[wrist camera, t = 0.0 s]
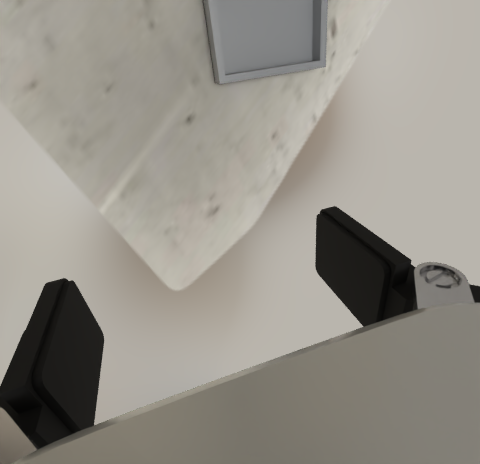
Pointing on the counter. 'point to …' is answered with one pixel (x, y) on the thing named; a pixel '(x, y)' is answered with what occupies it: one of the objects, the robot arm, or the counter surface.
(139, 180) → the counter surface
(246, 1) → the tray
